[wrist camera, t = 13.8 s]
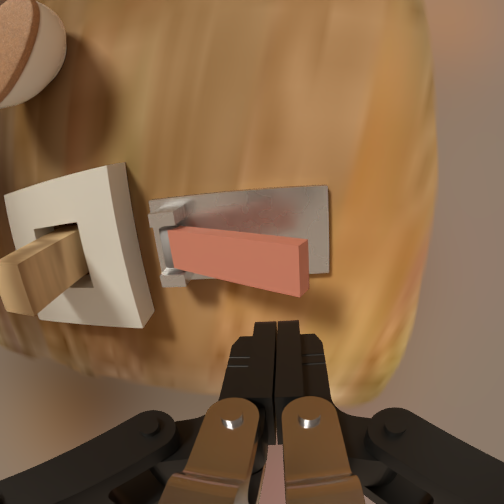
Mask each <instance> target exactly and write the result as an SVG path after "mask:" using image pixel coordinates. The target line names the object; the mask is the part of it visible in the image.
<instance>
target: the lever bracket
mask: <svg viewBox="0 0 504 504" xmlns="http://www.w3.org/2000/svg"><path fill="white" fill-rule="evenodd" d="M149 206H150V213H149V214H148V219H149V224H150V228H153V230H154V235H155V241H156V246H157V251H158V256H159V261H160V266H161V270H162V273H161V275H160V279H161V283H162V287H186V286H187V285H188V283H189V281H190V280H191V279H217V278H213V277H208V276H204V275H200V274H196V273H192V272H188V271H184V270H180V269H176V268H167V267H166V265H165V260H164V255H163V250H162V245H161V239H160V234H159V228H161V227H163V226H174V225H179V226H188V227H198V228H208V229H218V230H228V231H237V232H247V233H256V234H265V235H275V236H284V237H292V238H301V239H308V252H309V274H316V273H329V211H328V186H327V185H309V186H290V187H274V188H260V189H247V190H235V191H224V192H213V193H204V194H194V195H185V196H176V197H168V198H160V199H152V200H150V201H149Z"/></svg>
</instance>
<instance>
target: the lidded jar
mask: <svg viewBox="0 0 504 504" xmlns="http://www.w3.org/2000/svg"><path fill="white" fill-rule="evenodd" d="M66 51H67V44H66V32H65V28H64V25H63V22H62V21H61V19H60V18H59V16H58V15H57V14H56V13H55V12H54V11H53V10H51V9H50V8H48V7H47V6H45V5H43V4H41V3H39V2H37V1H35V0H8V1H6V2H5V3H4V4H2V5H1V6H0V108H6V107H11V106H15V105H18V104H21V103H23V102H25V101H27V100H29V99H31V98H33V97H34V96H36V95H37V94H38V93H40V92H41V91H42V90H43V89H44V88H45V87H46V86H47V85H48V84H49V83H50V82H51V81H52V80H53V79H54V78H55V77H56V75H57V74H58V72H59V71H60V69H61V67H62V65H63V63H64V60H65V57H66Z"/></svg>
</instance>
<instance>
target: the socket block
mask: <svg viewBox="0 0 504 504" xmlns="http://www.w3.org/2000/svg"><path fill="white" fill-rule="evenodd" d="M4 199H5V205H6V210H7V215H8V220H9V224H10V229H11V233H12V237H13V241H14V245H15V248H16V250H18V249H19V248H21V247H23V246H25V245H27V244H29V243H31V242H33V241H34V240H36V239H38V238H40V237H42V236H44V235H46V234H48V233H50V232H52V231H54V226H55V225H62V224H68V223H74V222H77V224H78V229H79V233H80V238H81V242H82V246H83V250H84V254H85V258H86V262H87V265H88V269H89V273H90V275H84V276H83V277H82V278H80V279H79V280H78V281H76V282H75V283H74V284H73V285H71V286H70V287H69V288H68V289H66V290H65V291H64V292H63V293H62V294H60V295H59V296H58V297H57V298H56V299H54V300H53V301H52V302H51V303H50V304H48V305H47V306H46V307H45V308H44V309H42V310H41V311H40V312H39V313H38V317H39V319H40V320H47V321H55V322H65V323H75V324H85V325H97V326H111V327H127V328H144V326H145V325H146V323H147V322H148V320H149V319H150V317H151V316H152V314H153V313H154V311H155V310H154V306H153V303H152V299H151V295H150V291H149V287H148V283H147V279H146V275H145V270H144V266H143V262H142V257H141V252H140V248H139V243H138V238H137V233H136V228H135V222H134V217H133V211H132V206H131V200H130V193H129V187H128V180H127V173H126V166H125V162H123V163H117V164H112V165H106V166H102V167H98V168H94V169H90V170H86V171H82V172H78V173H74V174H70V175H67V176H63V177H59V178H56V179H52V180H49V181H46V182H42V183H39V184H36V185H33V186H30V187H26V188H23V189H20V190H17V191H15V192H12V193H9V194H6V195H4Z"/></svg>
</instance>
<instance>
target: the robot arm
mask: <svg viewBox="0 0 504 504" xmlns="http://www.w3.org/2000/svg"><path fill="white" fill-rule="evenodd" d="M276 428H277V438H278V445H279V444H283V462H284V480H285V499H286V504H365V500H364V495H365V496H366V497H368V498H369V499H370V500H372V501H373V502H374V503H376V504H504V462H502V461H500V460H498V459H496V458H494V457H492V456H490V455H488V454H486V453H484V452H482V451H480V450H478V449H477V448H475V447H473V446H471V445H469V444H467V443H465V442H463V441H462V440H460V439H458V438H456V437H454V436H452V435H451V434H449V433H447V432H445V431H443V430H442V429H440V428H438V427H436V426H435V425H433V424H431V423H429V422H428V421H426V420H424V419H422V418H421V417H419V416H417V415H415V414H414V413H412V412H410V411H408V410H405V409H403V408H387V409H384V410H381V411H380V412H378V413H376V414H375V415H374V416H373V417H372V418H364V417H356V416H351V415H348V414H346V413H344V412H342V411H340V410H339V409H338V408H337V407H336V406H335V405H334V404H333V402H332V399H331V395H330V388H329V381H328V375H327V368H326V363H325V356H324V350H323V344H322V342H321V340H320V339H319V338H318V337H317V336H316V335H315V334H300V330H299V320H293V321H278V330H277V323H276V321H273V322H255V325H254V332H253V336H245V337H239V339H238V340H237V341H236V342H235V343H234V344H233V345H232V348H231V352H230V358H229V361H228V365H227V369H226V373H225V377H224V381H223V385H222V389H221V393H220V397H219V401H218V402H216V403H214V404H213V405H212V406H211V407H210V408H209V409H208V410H207V412H206V415H204V416H201V417H199V418H195V419H190V420H184V421H176V422H174V420H173V419H172V417H170V416H169V415H168V414H166V413H164V412H162V411H156V410H151V411H145V412H142V413H140V414H138V415H136V416H134V417H132V418H130V419H129V420H127V421H125V422H123V423H121V424H120V425H118V426H116V427H114V428H112V429H110V430H109V431H107V432H105V433H103V434H101V435H99V436H97V437H95V438H93V439H92V440H90V441H88V442H86V443H84V444H82V445H80V446H78V447H76V448H74V449H72V450H70V451H68V452H66V453H63V454H62V455H59V456H57V457H55V458H53V459H51V460H48V461H46V462H44V463H42V464H40V465H37V466H35V467H33V468H30V469H28V470H26V471H23V472H21V473H18V474H16V475H14V476H11V477H8V478H6V479H3V480H1V481H0V504H259V500H260V494H261V489H262V484H263V479H264V473H265V468H266V460H267V452H268V445H275V444H276ZM363 494H364V495H363Z"/></svg>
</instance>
